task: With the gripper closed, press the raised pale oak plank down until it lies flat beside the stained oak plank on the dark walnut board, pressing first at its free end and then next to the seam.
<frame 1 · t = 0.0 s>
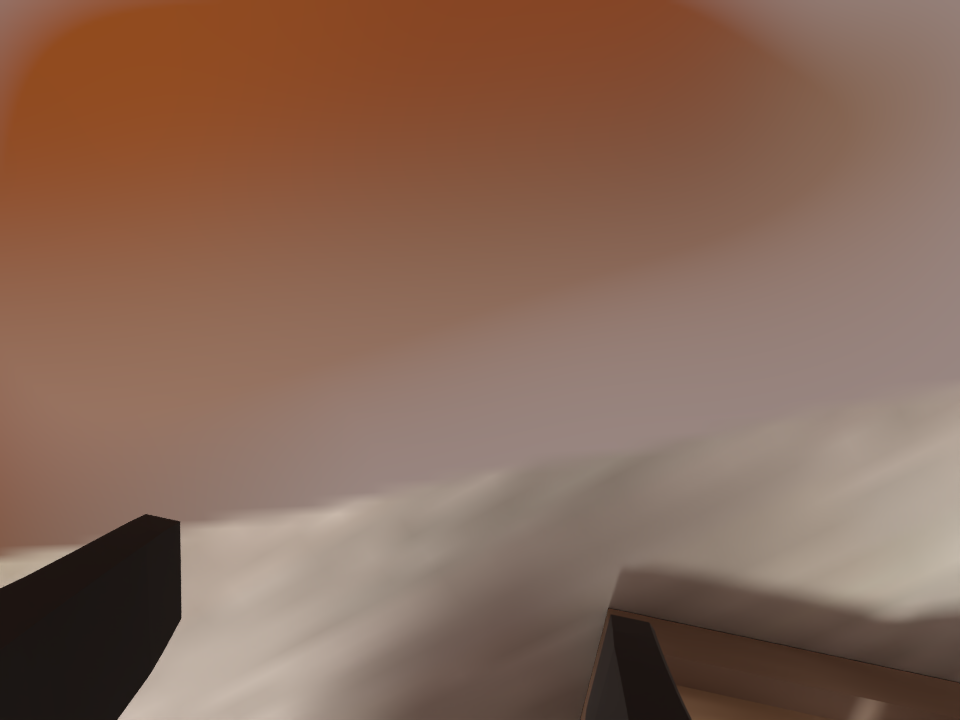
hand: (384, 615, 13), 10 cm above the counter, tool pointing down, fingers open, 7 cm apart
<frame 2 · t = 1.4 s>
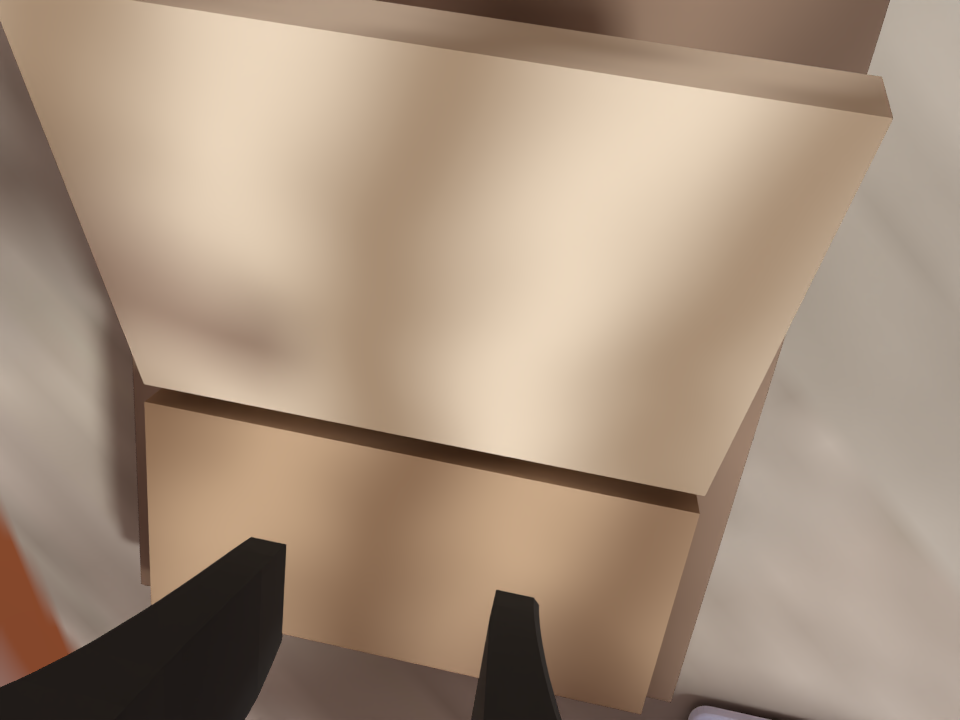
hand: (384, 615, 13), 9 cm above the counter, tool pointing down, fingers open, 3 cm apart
oak plank: (422, 268, 16), point 4 cm above the counter, hinge at 25.0°
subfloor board: (449, 306, 21), on the counter
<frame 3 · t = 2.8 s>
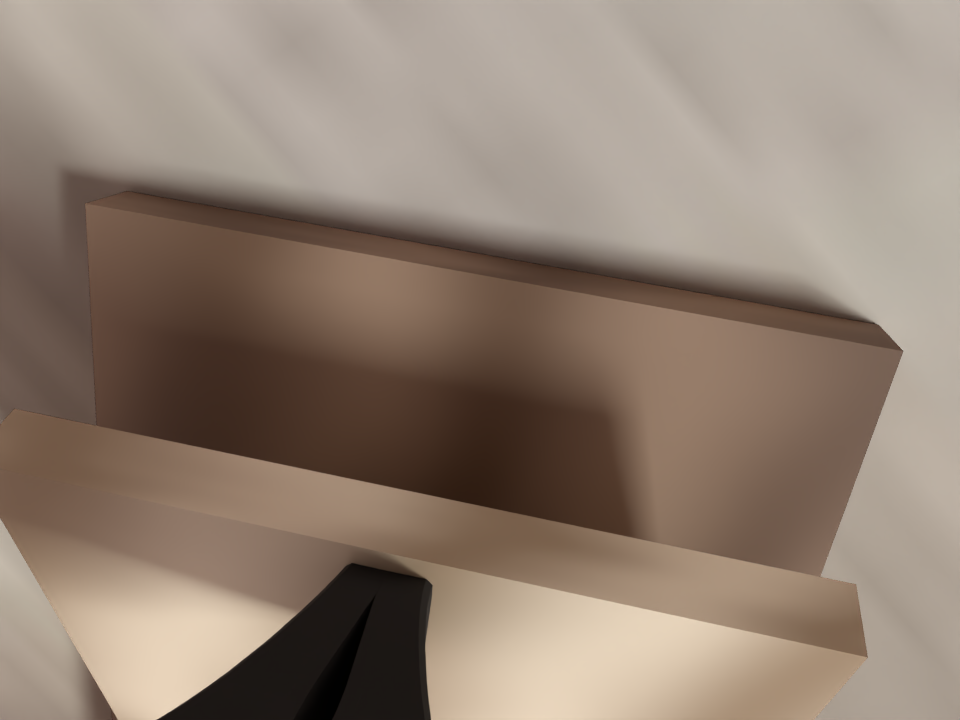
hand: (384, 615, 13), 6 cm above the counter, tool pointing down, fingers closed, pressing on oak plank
oak plank: (402, 668, 16), point 4 cm above the counter, hinge at 21.1°, touching gripper
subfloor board: (431, 630, 21), on the counter
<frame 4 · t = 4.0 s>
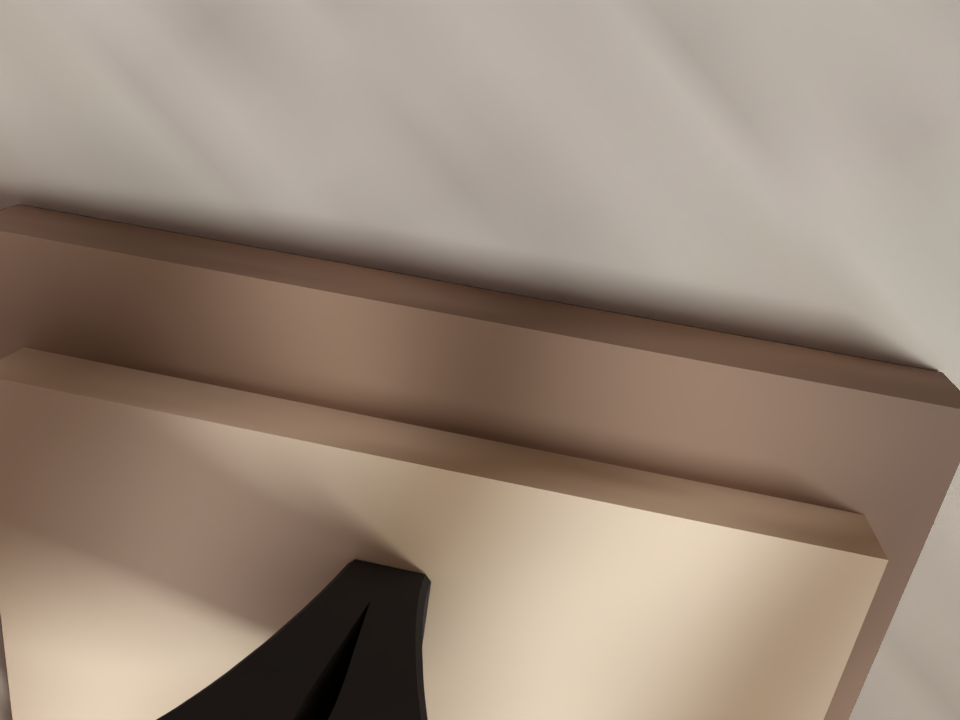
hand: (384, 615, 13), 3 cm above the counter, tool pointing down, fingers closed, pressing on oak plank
oak plank: (385, 686, 14), point 2 cm above the counter, hinge at -0.7°, touching gripper, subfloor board
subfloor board: (399, 716, 18), on the counter
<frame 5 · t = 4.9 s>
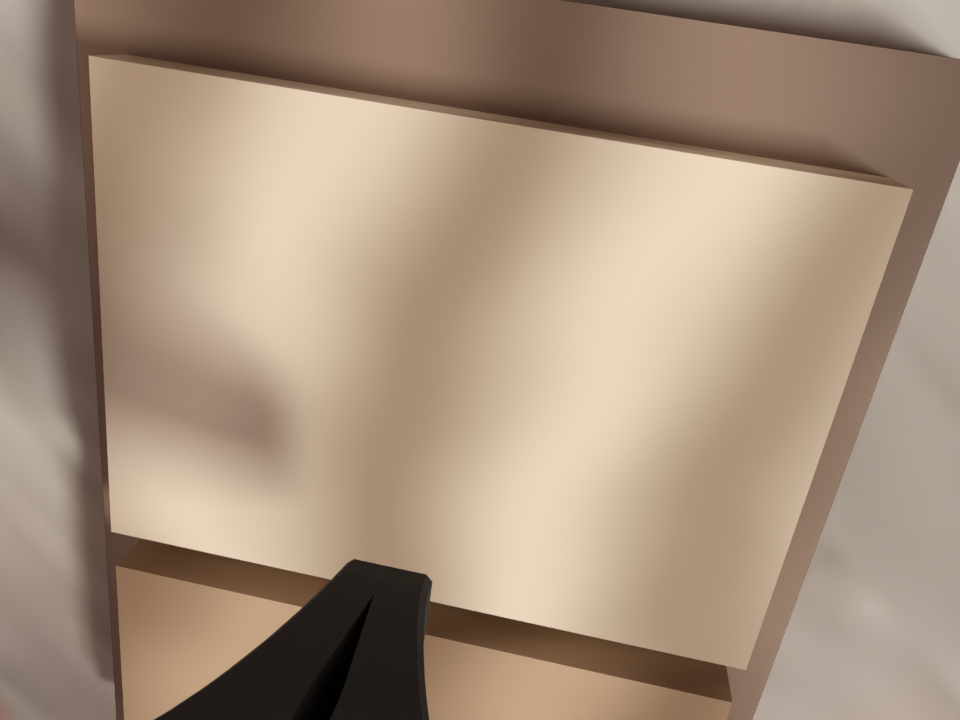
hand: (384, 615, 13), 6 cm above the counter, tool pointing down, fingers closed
oak plank: (451, 377, 16), point 2 cm above the counter, hinge at -0.7°, touching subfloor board
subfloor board: (452, 455, 19), on the counter
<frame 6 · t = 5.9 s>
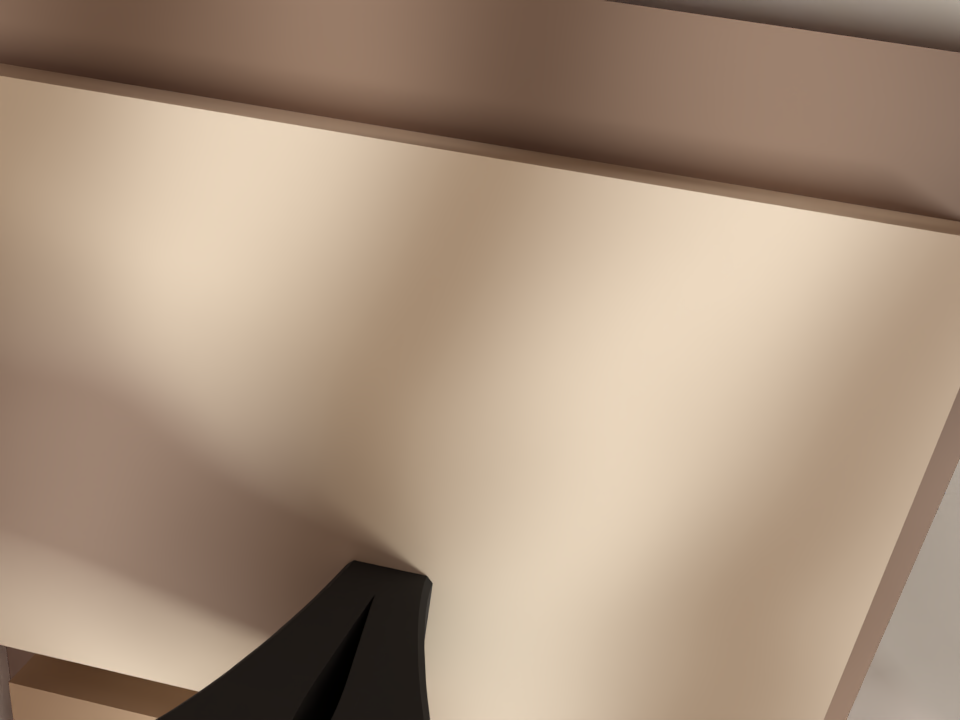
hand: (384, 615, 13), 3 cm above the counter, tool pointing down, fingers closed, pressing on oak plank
oak plank: (409, 467, 13), point 2 cm above the counter, hinge at -0.7°, touching gripper, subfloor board
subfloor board: (419, 544, 16), on the counter
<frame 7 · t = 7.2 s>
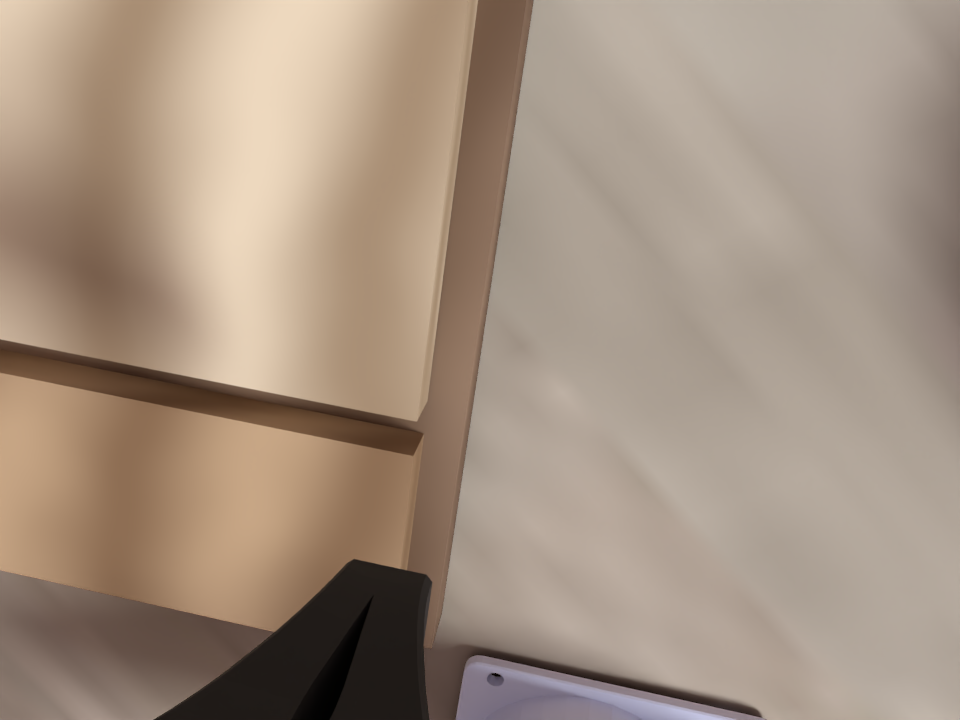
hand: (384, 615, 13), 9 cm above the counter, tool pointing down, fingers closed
oak plank: (149, 159, 18), point 2 cm above the counter, hinge at -0.6°, touching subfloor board
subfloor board: (194, 260, 22), on the counter
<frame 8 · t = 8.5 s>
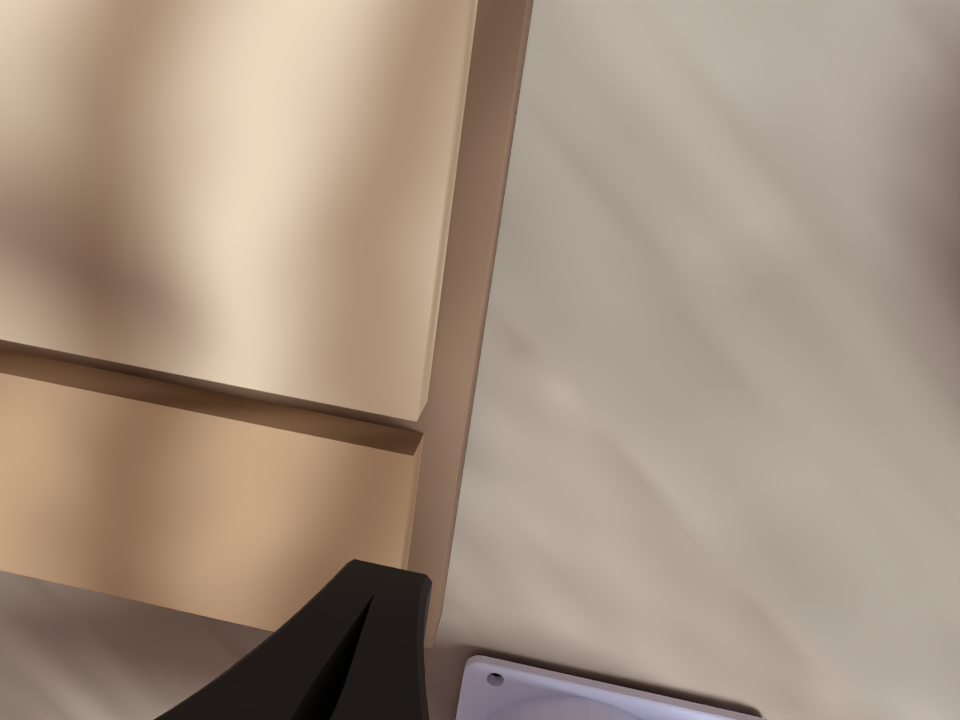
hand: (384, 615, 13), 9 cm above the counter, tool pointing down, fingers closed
oak plank: (149, 159, 18), point 2 cm above the counter, hinge at -0.6°, touching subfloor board
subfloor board: (194, 260, 22), on the counter
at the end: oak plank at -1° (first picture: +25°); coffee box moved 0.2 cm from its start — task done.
